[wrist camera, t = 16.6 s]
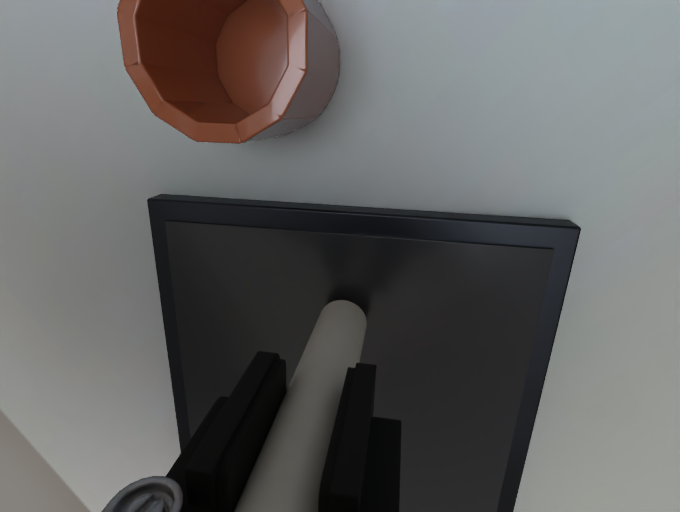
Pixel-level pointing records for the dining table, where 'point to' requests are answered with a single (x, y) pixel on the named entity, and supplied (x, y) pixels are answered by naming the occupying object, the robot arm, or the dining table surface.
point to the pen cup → (231, 64)
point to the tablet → (376, 322)
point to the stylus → (306, 417)
